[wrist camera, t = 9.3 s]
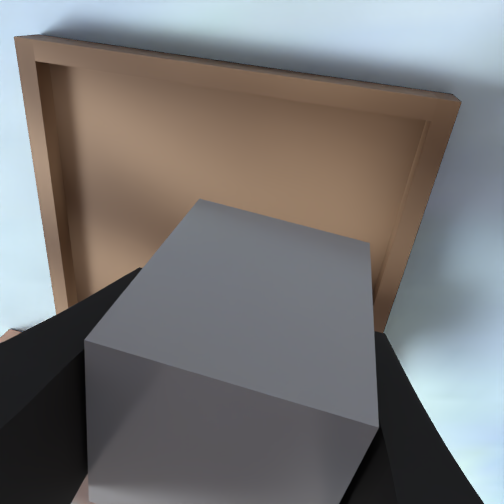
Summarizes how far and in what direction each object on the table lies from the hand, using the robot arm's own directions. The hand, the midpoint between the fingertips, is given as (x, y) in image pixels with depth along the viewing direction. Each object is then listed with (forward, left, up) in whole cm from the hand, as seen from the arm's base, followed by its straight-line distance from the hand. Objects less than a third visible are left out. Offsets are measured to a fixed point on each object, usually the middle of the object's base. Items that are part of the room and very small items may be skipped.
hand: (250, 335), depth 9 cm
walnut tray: (+2, -2, -7) cm, 8 cm away
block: (0, 0, -2) cm, 2 cm away
